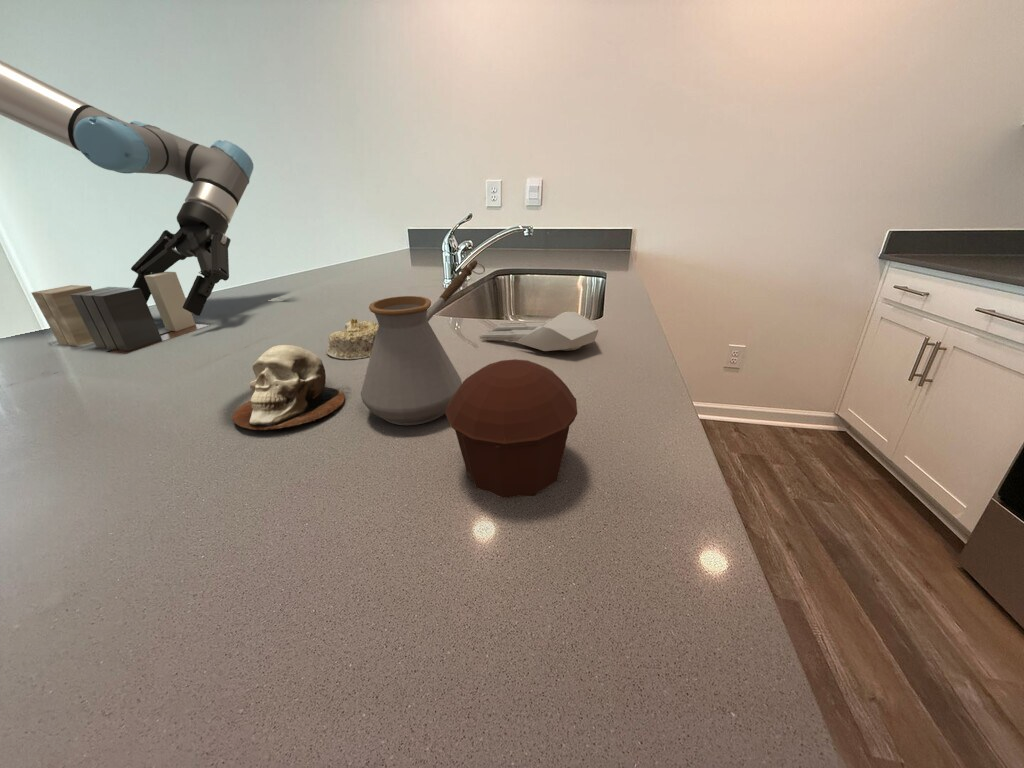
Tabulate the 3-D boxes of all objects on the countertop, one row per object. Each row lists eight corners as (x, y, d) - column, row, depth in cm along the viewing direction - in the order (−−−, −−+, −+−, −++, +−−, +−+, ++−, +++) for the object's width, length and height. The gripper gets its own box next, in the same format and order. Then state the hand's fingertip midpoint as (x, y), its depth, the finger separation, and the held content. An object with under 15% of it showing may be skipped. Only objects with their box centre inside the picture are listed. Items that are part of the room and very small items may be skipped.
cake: (395, 340, 72) (393, 310, 70) (381, 362, 63) (378, 330, 61) (338, 337, 72) (334, 308, 69) (316, 360, 63) (310, 327, 60)
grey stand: (93, 356, 67) (61, 295, 63) (180, 328, 80) (159, 276, 76) (129, 360, 65) (99, 297, 61) (212, 331, 78) (192, 277, 74)
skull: (304, 434, 42) (224, 362, 40) (264, 476, 47) (192, 413, 45) (369, 381, 52) (308, 322, 50) (331, 420, 57) (274, 367, 55)
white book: (166, 330, 75) (143, 275, 71) (187, 324, 78) (166, 271, 74) (175, 331, 74) (153, 276, 70) (195, 324, 78) (175, 271, 73)
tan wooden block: (50, 352, 69) (17, 293, 65) (142, 325, 82) (119, 274, 78) (84, 356, 67) (52, 295, 63) (172, 328, 80) (151, 275, 76)
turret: (505, 338, 77) (500, 313, 75) (608, 337, 67) (606, 308, 65) (475, 356, 69) (470, 329, 67) (588, 358, 59) (585, 326, 57)
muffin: (497, 422, 45) (493, 337, 41) (592, 450, 40) (599, 356, 36) (426, 484, 36) (411, 383, 32) (537, 530, 31) (537, 417, 27)
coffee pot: (422, 445, 42) (401, 301, 35) (343, 420, 47) (312, 289, 40) (518, 369, 58) (516, 261, 52) (453, 356, 63) (444, 257, 57)
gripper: (274, 227, 80) (234, 323, 73) (176, 227, 86) (131, 316, 79) (243, 198, 73) (197, 302, 66) (139, 200, 79) (86, 296, 72)
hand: (161, 310), depth 73 cm, fingers open, 13 cm apart
